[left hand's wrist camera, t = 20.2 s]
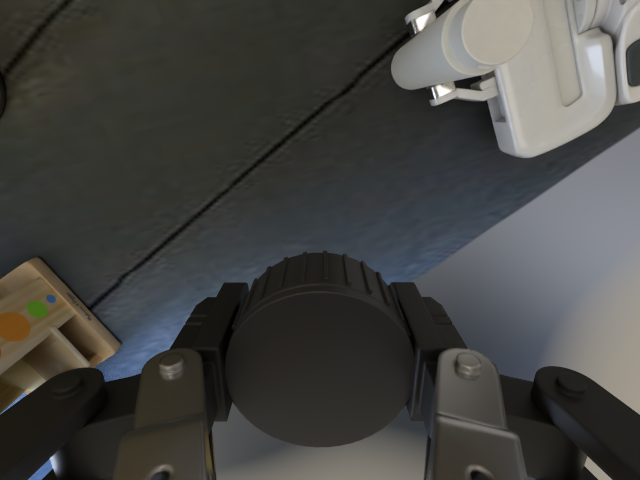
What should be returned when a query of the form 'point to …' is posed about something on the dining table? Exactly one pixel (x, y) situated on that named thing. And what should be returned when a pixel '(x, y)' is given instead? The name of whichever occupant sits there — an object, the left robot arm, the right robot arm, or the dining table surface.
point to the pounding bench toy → (44, 331)
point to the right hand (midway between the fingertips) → (419, 63)
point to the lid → (319, 352)
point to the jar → (464, 43)
